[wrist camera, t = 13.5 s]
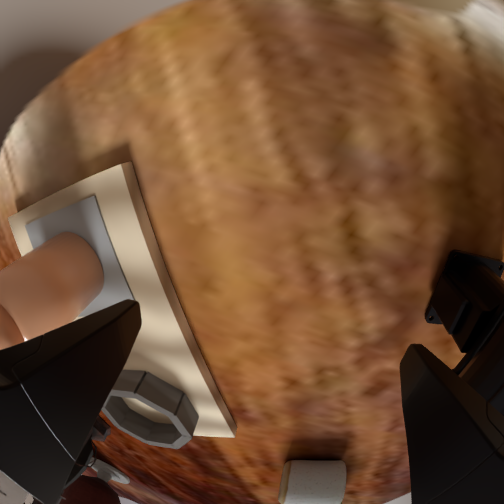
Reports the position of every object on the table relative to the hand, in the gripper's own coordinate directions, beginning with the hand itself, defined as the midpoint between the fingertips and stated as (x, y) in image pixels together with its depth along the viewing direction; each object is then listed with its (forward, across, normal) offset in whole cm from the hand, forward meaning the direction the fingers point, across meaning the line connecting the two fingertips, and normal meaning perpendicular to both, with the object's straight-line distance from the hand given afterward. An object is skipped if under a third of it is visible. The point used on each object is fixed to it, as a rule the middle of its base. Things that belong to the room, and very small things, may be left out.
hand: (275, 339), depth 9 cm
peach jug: (+10, +18, +6) cm, 22 cm away
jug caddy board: (+12, +14, +14) cm, 23 cm away
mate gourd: (+12, +31, +66) cm, 74 cm away
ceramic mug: (+12, -10, +34) cm, 38 cm away
